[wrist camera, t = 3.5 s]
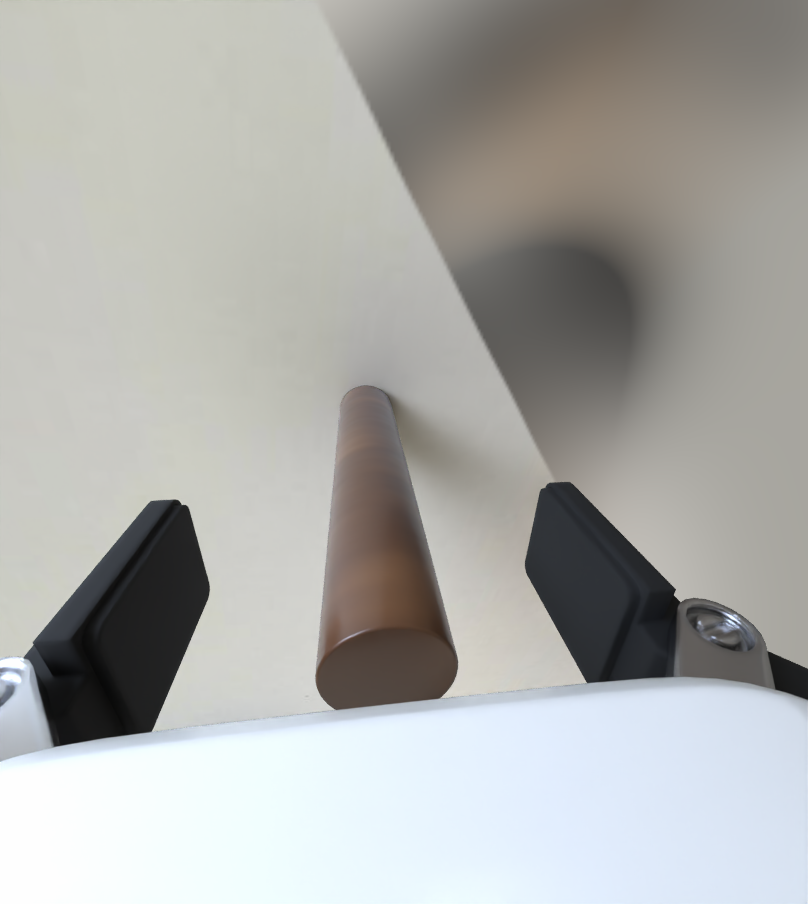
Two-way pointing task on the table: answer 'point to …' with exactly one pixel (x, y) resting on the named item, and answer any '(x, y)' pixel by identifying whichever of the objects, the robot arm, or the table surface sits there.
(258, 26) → the table surface
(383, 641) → the stick
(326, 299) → the table surface
